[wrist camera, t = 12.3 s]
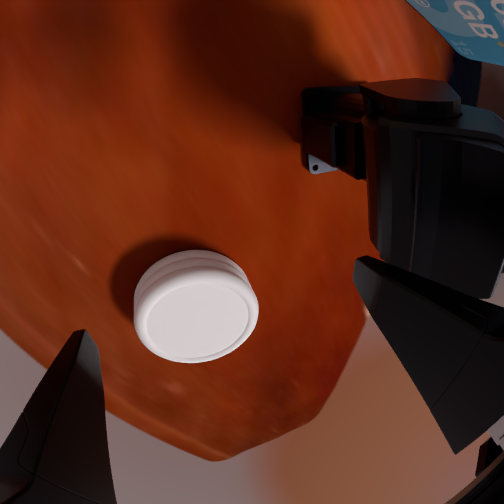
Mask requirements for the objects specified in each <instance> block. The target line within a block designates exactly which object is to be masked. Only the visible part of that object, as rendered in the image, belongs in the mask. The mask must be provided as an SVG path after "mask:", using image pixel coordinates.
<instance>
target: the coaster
mask: <svg viewBox="0 0 504 504" xmlns="http://www.w3.org/2000/svg"><path fill="white" fill-rule="evenodd" d="M257 319H258V302H257V298H256V296H255V293H254V291H253V290H252V287H251V285H250V283H249V281H248V279H247V276H246V275H245V273H244V272H243V270H242V269H241V268H240V267H239V266H238V265H237V264H236V263H235V262H233V261H232V260H231V259H229V258H227V257H226V256H224V255H221V254H219V253H216V252H212V251H206V250H187V251H181V252H177V253H174V254H171V255H169V256H167V257H164V258H162V259H161V260H159V261H157V262H156V263H155V264H153V265H152V266H151V267H150V268H149V269H148V270H147V271H146V272H145V273H144V274H143V276H142V277H141V279H140V281H139V283H138V284H137V287H136V290H135V294H134V326H135V330H136V332H137V334H138V337H139V339H140V340H141V342H142V343H143V344H144V345H145V346H146V347H147V348H148V349H149V350H150V351H151V352H153V353H155V354H156V355H158V356H160V357H162V358H165V359H168V360H171V361H175V362H182V363H199V362H205V361H210V360H213V359H216V358H219V357H222V356H224V355H226V354H228V353H230V352H231V351H233V350H235V349H236V348H237V347H239V346H240V345H241V344H242V343H243V342H244V341H245V340H246V339H247V338H248V337H249V336H250V334H251V333H252V331H253V329H254V327H255V325H256V322H257Z"/></svg>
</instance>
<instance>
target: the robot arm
mask: <svg viewBox="0 0 504 504" xmlns="http://www.w3.org/2000/svg"><path fill="white" fill-rule="evenodd" d="M308 92H311V96H310V97H308V96H307V93H308ZM302 106H303V116H302V118H301V123H302V136H303V149H304V151H305V152H306V158H307V169H308V171H309V172H311V173H312V174H318V173H324V172H329V171H334V170H339V169H340V170H341V171H343V172H345V173H346V174H348V175H350V176H352V177H353V178H355V179H357V180H360V179H363V180H364V181H366V182H367V196H368V220H369V234H370V240H371V242H372V243H373V244H374V246H375V247H376V249H377V250H378V251H379V252H380V258H381V259H383V260H384V261H385V262H383V261H381V260H378V259H375V258H373V257H370V256H367V255H366V256H362V257H359V258H357V259H356V260H355V265H354V272H353V282H354V284H355V286H356V288H357V290H358V292H359V294H360V296H361V297H362V299H363V301H364V303H365V305H366V307H367V309H368V311H369V313H370V314H371V316H372V318H373V320H374V321H375V323H376V324H377V325H378V327H379V329H380V330H381V332H382V333H383V335H384V336H385V338H386V339H387V341H388V342H389V344H390V346H391V347H392V349H393V350H394V352H395V353H396V355H397V357H398V358H399V360H400V361H401V363H402V364H403V366H404V368H405V369H406V371H407V372H408V374H409V376H410V377H411V379H412V381H413V382H414V384H415V386H416V387H417V389H418V391H419V392H420V394H421V395H422V397H423V399H424V401H425V402H426V404H427V406H428V407H429V409H430V411H431V413H432V415H433V416H434V418H435V420H436V422H437V423H438V425H439V427H440V429H441V431H442V432H443V434H444V436H445V438H446V440H447V441H448V443H449V445H450V447H451V449H452V451H453V452H454V454H455V455H456V454H457V453H459V452H460V451H462V450H463V449H464V448H466V447H467V446H468V445H469V444H471V443H472V442H473V441H475V440H476V439H477V438H478V437H480V436H481V435H482V434H483V433H484V432H485V431H488V433H489V434H490V437H489V438H488V439H487V440H486V441H485V442H484V443H483V444H482V445H481V446H480V449H479V456H478V462H477V468H476V473H475V475H476V478H475V479H474V480H473V481H472V482H471V483H470V484H469V485H467V486H466V487H465V488H464V489H463V490H461V491H460V492H459V493H458V494H457V495H455V496H454V497H453V498H451V499H450V500H449V501H448V502H446V503H445V504H504V308H503V307H500V306H498V305H494V304H492V303H488V302H486V301H483V300H480V299H489V298H491V297H492V295H493V293H494V290H495V288H496V285H497V283H498V280H499V277H500V274H501V273H504V121H503V120H501V119H500V118H499V117H498V116H497V115H496V114H495V113H493V112H492V111H489V110H486V109H481V108H477V107H472V106H467V105H462V104H461V101H460V96H459V95H458V94H457V93H456V92H455V91H454V90H453V89H452V88H451V86H450V85H449V84H448V83H447V82H444V81H437V80H429V79H420V78H410V79H398V80H388V81H379V82H371V83H363V84H359V86H329V87H310V88H305V89H304V90H303V91H302ZM314 165H316V168H315V169H312V168H313V166H314ZM386 262H387V263H386ZM0 504H117V502H116V497H115V491H114V485H113V479H112V473H111V466H110V458H109V451H108V442H107V430H106V418H105V401H104V390H103V382H102V375H101V367H100V358H99V351H98V347H97V345H96V344H95V342H94V341H93V339H92V338H91V336H90V335H89V333H88V332H87V330H85V329H82V330H77V331H74V332H73V333H72V335H71V336H70V338H69V339H68V340H67V342H66V343H65V345H64V346H63V348H62V349H61V351H60V352H59V354H58V355H57V357H56V358H55V360H54V361H53V363H52V364H51V366H50V367H49V369H48V370H47V372H46V373H45V375H44V377H43V378H42V380H41V381H40V383H39V385H38V386H37V388H36V389H35V391H34V393H33V394H32V396H31V398H30V399H29V401H28V403H27V404H26V406H25V408H24V410H23V412H22V413H21V415H20V416H19V418H18V420H17V422H16V423H15V425H14V427H13V429H12V430H11V432H10V434H9V435H8V437H7V438H6V440H5V442H4V443H3V445H2V446H1V448H0Z"/></svg>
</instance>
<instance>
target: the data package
mask: <svg viewBox="0 0 504 504" xmlns="http://www.w3.org/2000/svg"><path fill="white" fill-rule="evenodd" d="M406 1H407V2H408V3H409V4H410V5H411V6H413V7H414V8H415V9H416V10H417V11H418V12H419V13H420V14H421V15H422V16H423V17H424V18H425V19H426V20H427V21H428V22H429V23H430V24H431V25H432V26H433V27H434V28H435V29H436V30H437V31H438V32H439V33H440V34H441V35H442V36H443V37H444V38H445V39H446V41H447V42H448V43H449V44H450V45H451V46H452V47H453V48H454V50H455V51H457V52H458V53H459V54H461V55H462V56H464V57H466V58H469V59H472V60H478V61H483V62H488V63H494V64H498V65H502V66H504V0H406Z"/></svg>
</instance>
